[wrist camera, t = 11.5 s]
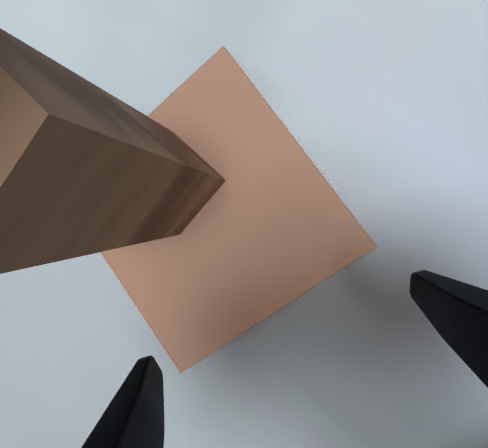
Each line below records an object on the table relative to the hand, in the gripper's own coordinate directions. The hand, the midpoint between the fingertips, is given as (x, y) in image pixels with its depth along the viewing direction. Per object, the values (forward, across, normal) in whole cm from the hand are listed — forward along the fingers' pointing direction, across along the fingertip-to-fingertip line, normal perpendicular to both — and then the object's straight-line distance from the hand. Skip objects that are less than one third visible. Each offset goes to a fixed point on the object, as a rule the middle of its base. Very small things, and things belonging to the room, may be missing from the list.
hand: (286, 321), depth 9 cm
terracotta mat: (+12, +2, +1) cm, 12 cm away
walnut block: (+12, +4, -2) cm, 13 cm away
